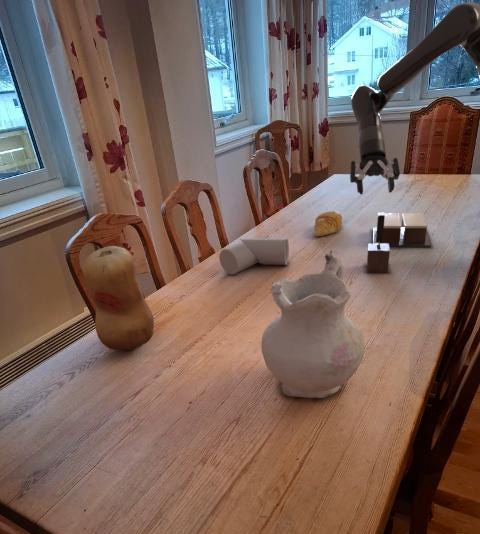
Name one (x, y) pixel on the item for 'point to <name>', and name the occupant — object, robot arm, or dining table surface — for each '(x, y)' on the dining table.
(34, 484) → the dining table surface
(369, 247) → the knife block
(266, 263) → the bent grey cylinder
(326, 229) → the croissant
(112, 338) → the butternut squash
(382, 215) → the knife
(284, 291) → the ceramic pitcher
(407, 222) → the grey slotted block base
